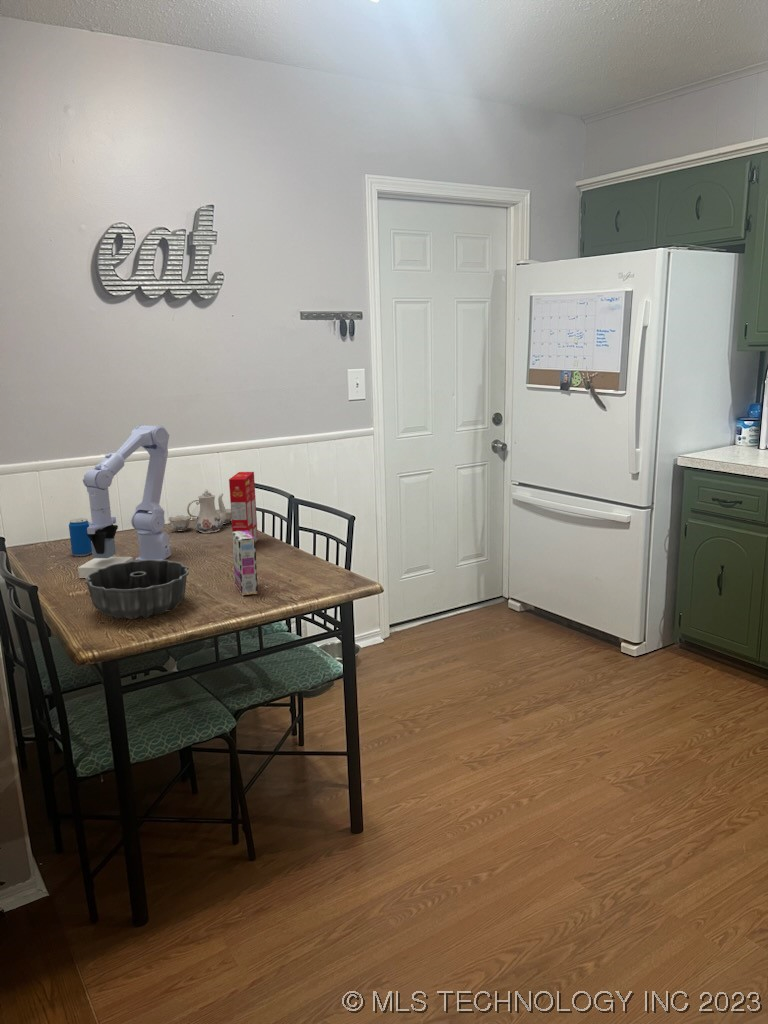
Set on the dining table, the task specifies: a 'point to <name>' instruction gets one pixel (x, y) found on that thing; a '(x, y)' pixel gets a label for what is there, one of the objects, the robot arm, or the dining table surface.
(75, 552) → the beverage can
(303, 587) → the dining table surface
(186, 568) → the bundt pan
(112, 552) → the blue cube
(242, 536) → the candy bar box
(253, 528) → the food packaging
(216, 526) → the chinaware
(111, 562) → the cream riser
